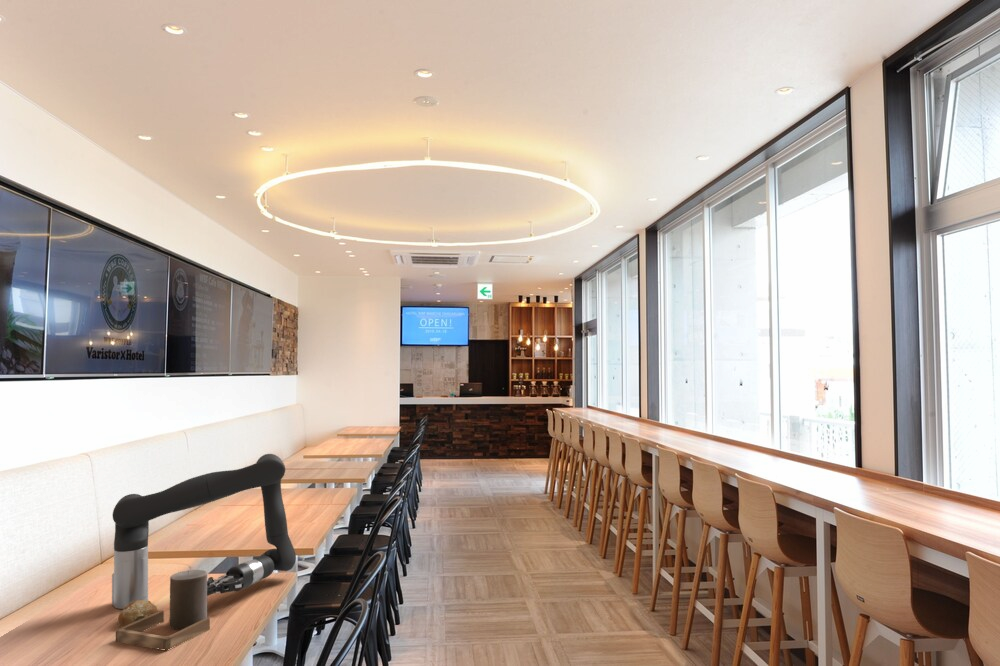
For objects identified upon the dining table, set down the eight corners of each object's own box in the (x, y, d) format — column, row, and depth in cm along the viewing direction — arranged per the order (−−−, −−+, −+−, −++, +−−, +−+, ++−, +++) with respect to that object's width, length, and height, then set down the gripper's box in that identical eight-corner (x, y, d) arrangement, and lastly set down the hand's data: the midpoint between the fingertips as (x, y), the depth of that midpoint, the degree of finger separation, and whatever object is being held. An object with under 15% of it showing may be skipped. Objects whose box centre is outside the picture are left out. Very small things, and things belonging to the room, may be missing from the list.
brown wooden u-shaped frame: (115, 641, 174) (115, 630, 174) (160, 621, 187) (160, 610, 187) (166, 651, 167) (166, 639, 168) (209, 629, 181) (209, 618, 181)
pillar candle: (185, 632, 179) (186, 576, 180) (161, 626, 183) (162, 572, 184) (214, 619, 188) (215, 566, 188) (191, 614, 192) (191, 562, 193)
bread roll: (126, 644, 181) (132, 620, 180) (108, 621, 186) (114, 598, 185) (160, 631, 189) (167, 608, 188) (142, 610, 195) (149, 587, 193)
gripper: (228, 560, 209) (185, 578, 193) (261, 564, 204) (220, 582, 188) (228, 584, 208) (185, 603, 192) (262, 588, 204) (220, 608, 188)
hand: (202, 593), depth 190 cm, fingers closed
